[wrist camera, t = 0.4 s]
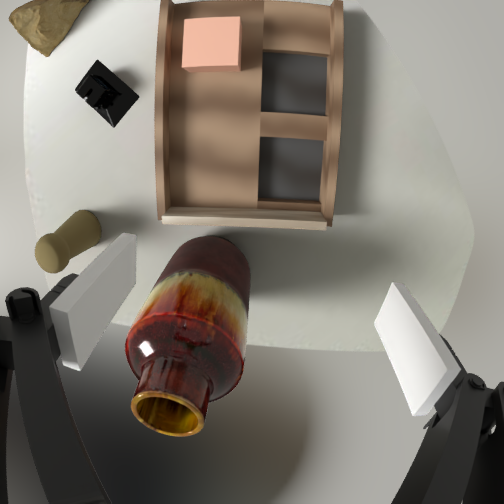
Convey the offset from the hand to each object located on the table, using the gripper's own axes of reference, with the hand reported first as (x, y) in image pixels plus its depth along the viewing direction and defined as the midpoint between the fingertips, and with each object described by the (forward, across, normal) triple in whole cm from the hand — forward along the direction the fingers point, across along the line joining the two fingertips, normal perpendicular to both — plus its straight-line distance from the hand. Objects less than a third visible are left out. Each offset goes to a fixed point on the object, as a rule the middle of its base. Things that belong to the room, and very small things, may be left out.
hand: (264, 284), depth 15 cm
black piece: (+27, -23, +9) cm, 37 cm away
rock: (+27, -33, +21) cm, 47 cm away
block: (+24, -9, +15) cm, 30 cm away
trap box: (+26, -4, +9) cm, 28 cm away
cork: (+26, -25, -12) cm, 38 cm away
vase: (+26, -5, -13) cm, 30 cm away
